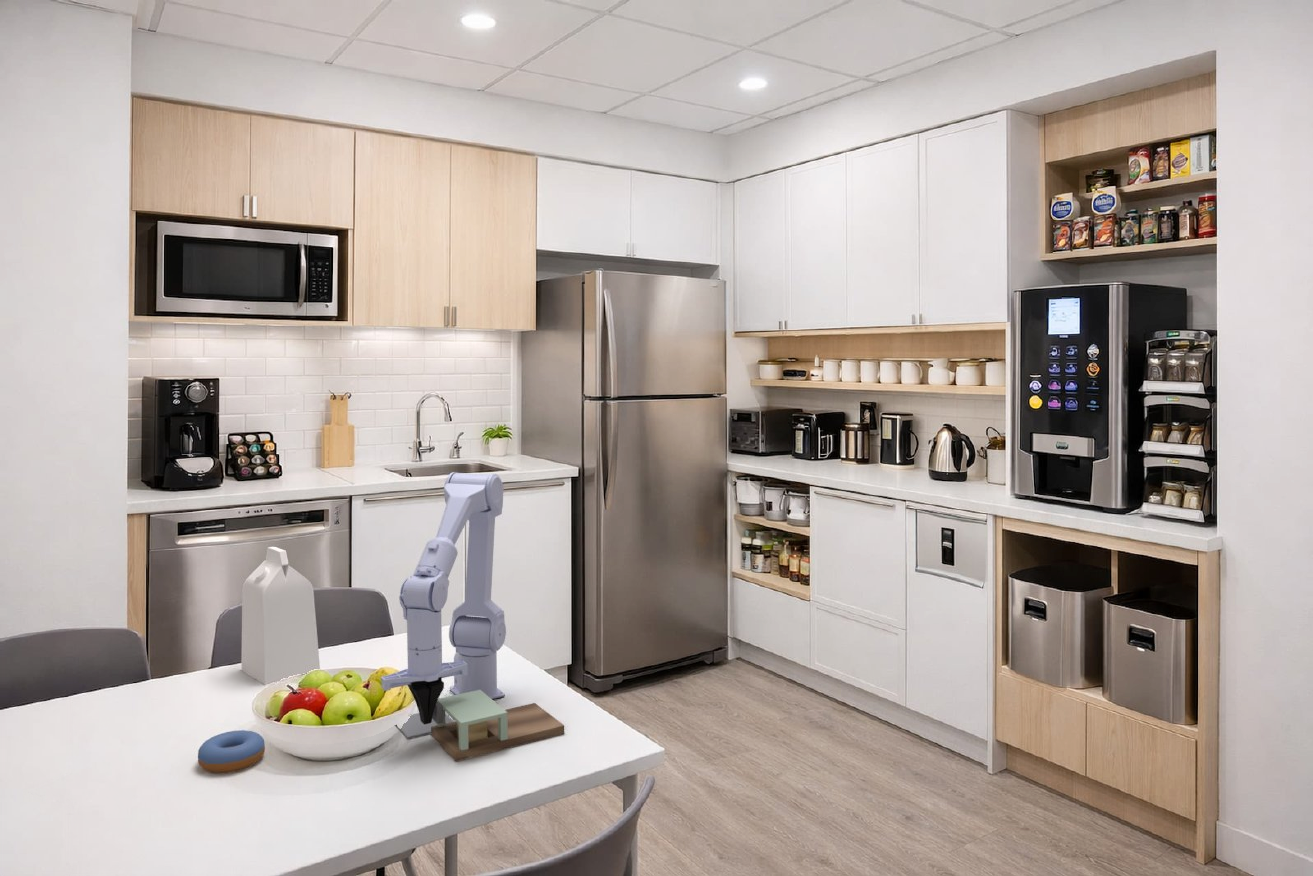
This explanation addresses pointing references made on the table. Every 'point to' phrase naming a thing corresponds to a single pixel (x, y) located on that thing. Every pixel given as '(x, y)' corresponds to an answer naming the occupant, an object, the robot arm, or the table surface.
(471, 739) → the block
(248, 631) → the milk
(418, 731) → the mat
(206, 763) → the doughnut
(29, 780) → the table surface
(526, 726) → the board
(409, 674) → the robot arm
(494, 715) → the cover
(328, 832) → the table surface
